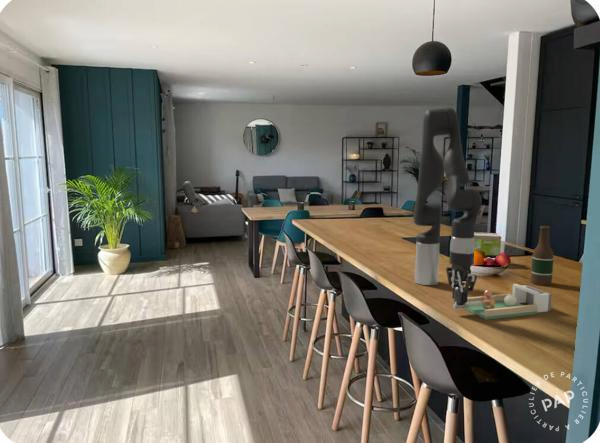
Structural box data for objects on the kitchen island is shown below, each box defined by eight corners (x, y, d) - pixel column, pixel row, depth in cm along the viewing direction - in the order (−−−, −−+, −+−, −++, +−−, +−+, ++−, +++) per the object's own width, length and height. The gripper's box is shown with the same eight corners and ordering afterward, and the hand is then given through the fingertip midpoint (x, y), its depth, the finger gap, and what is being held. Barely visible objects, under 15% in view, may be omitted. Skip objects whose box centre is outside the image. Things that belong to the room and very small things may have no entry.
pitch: (460, 306, 166) (460, 298, 165) (508, 301, 171) (508, 293, 171) (485, 319, 152) (486, 310, 152) (537, 314, 158) (537, 305, 157)
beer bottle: (526, 282, 197) (530, 225, 194) (540, 280, 200) (544, 224, 197) (541, 286, 190) (545, 228, 187) (556, 284, 193) (560, 227, 190)
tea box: (467, 264, 229) (468, 234, 227) (463, 260, 239) (464, 231, 236) (499, 266, 226) (501, 235, 224) (494, 261, 236) (496, 232, 234)
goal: (511, 302, 170) (513, 283, 169) (526, 301, 172) (527, 282, 171) (535, 312, 159) (536, 292, 158) (550, 311, 161) (552, 291, 160)
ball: (501, 304, 164) (502, 293, 164) (511, 303, 165) (511, 292, 165) (509, 308, 160) (510, 297, 160) (519, 307, 161) (519, 296, 161)
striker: (449, 307, 159) (450, 285, 158) (485, 304, 163) (487, 282, 162) (458, 312, 154) (459, 289, 153) (495, 308, 158) (496, 286, 157)
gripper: (439, 246, 160) (437, 295, 163) (465, 255, 147) (462, 308, 149) (458, 245, 162) (456, 294, 165) (485, 253, 149) (483, 306, 151)
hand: (459, 300), depth 157 cm, fingers closed on striker, 3 cm apart
